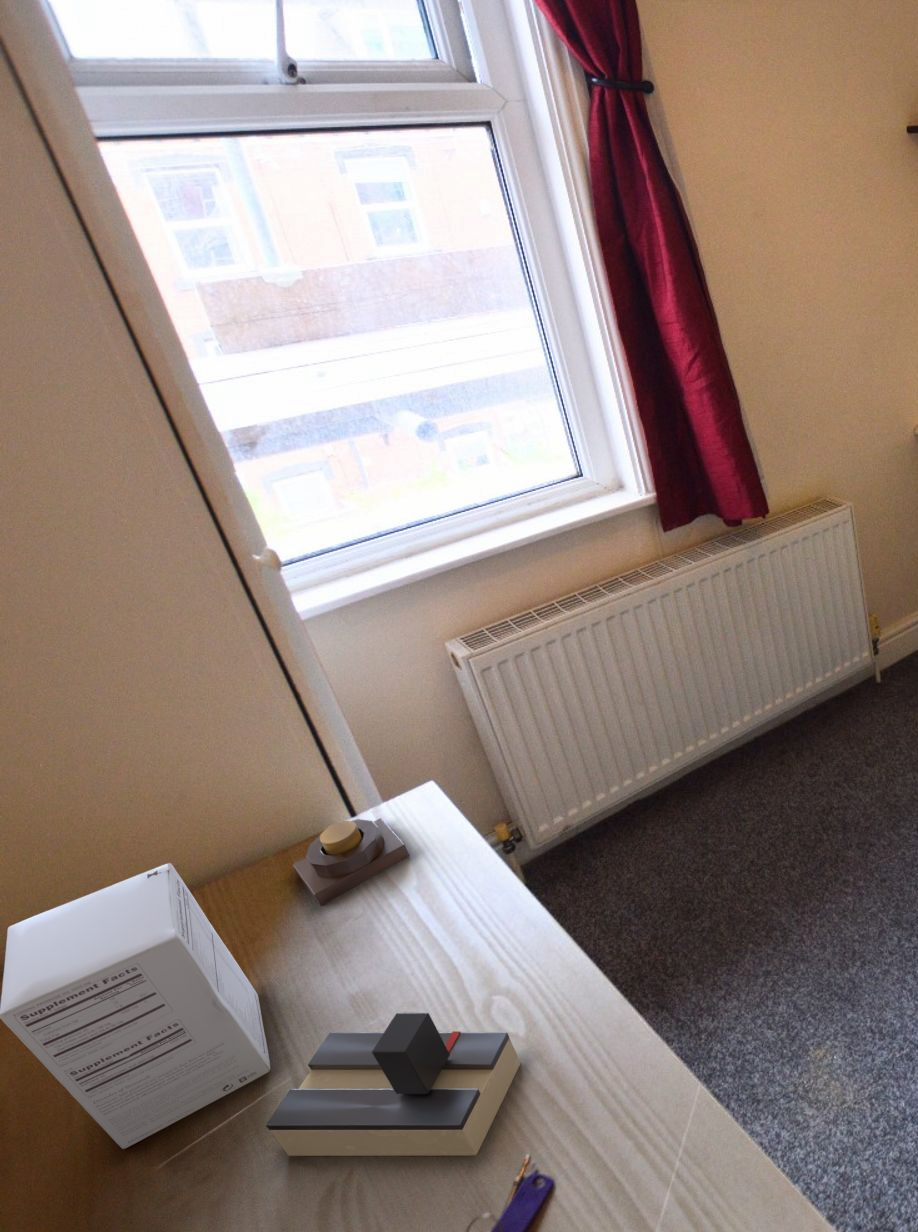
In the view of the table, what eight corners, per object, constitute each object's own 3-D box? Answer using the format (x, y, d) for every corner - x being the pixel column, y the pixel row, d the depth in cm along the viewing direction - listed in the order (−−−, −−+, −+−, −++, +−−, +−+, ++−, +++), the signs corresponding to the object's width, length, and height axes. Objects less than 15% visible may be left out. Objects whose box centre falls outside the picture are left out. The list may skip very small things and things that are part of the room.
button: (332, 860, 84) (326, 848, 84) (321, 846, 86) (314, 833, 85) (366, 842, 86) (360, 829, 86) (355, 828, 88) (348, 816, 87)
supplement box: (118, 1060, 70) (3, 923, 62) (259, 991, 76) (170, 856, 67) (120, 1155, 64) (-8, 1017, 56) (273, 1072, 69) (177, 935, 61)
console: (288, 1156, 64) (264, 1124, 62) (349, 1063, 70) (329, 1031, 68) (476, 1156, 64) (459, 1124, 62) (521, 1063, 70) (507, 1031, 68)
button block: (320, 906, 83) (306, 881, 82) (298, 876, 87) (284, 851, 85) (410, 856, 89) (398, 831, 87) (386, 828, 92) (374, 804, 90)
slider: (399, 1100, 64) (370, 1052, 61) (422, 1060, 67) (396, 1012, 64) (431, 1100, 64) (404, 1052, 61) (453, 1060, 67) (428, 1012, 64)
